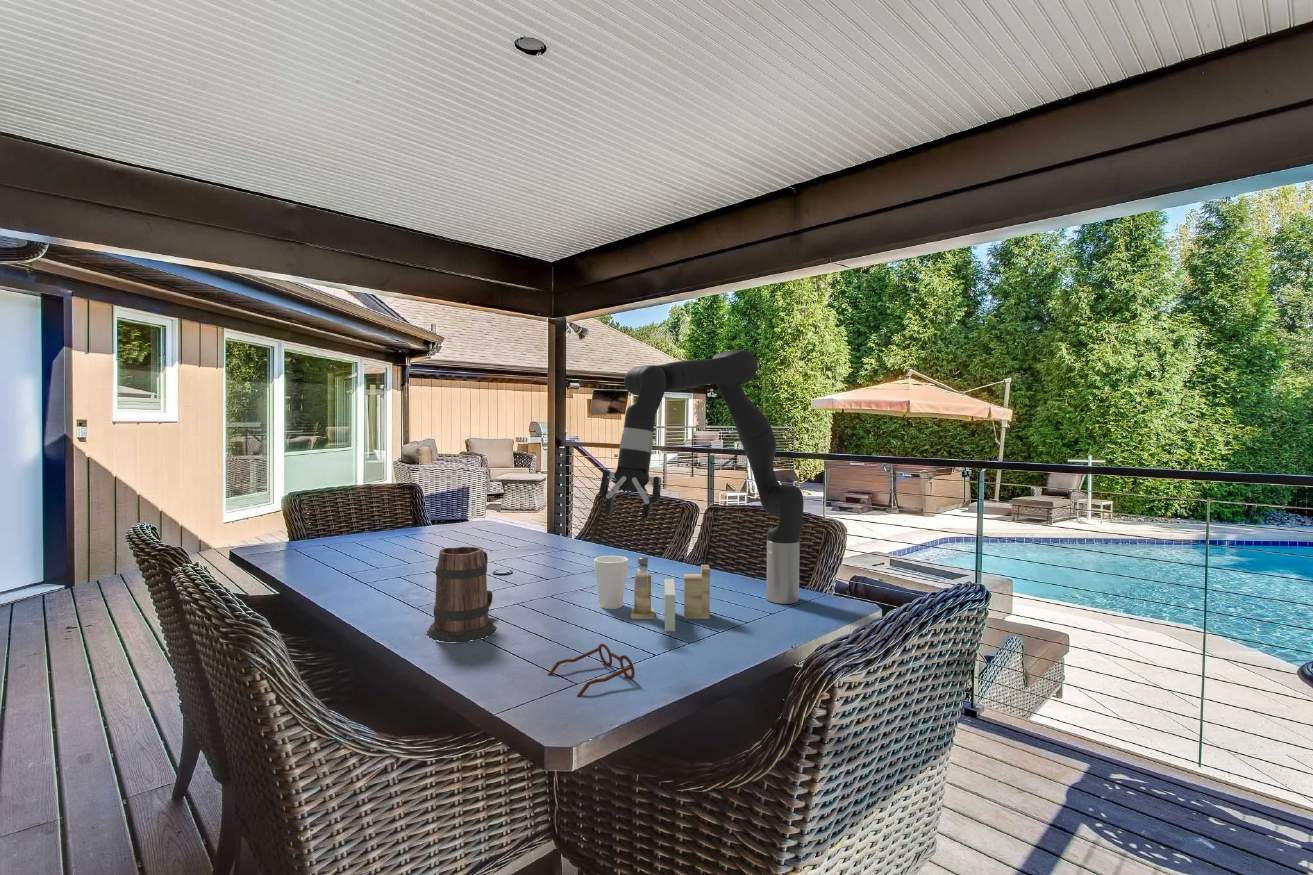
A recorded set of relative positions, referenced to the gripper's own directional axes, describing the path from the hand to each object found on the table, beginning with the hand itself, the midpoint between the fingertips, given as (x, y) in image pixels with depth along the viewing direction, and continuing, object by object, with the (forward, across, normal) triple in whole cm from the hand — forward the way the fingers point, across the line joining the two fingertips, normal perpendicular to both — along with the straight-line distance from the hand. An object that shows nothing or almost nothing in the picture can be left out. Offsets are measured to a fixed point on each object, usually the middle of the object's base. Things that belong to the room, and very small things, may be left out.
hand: (626, 517), depth 152 cm
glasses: (+32, -3, +20) cm, 38 cm away
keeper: (+24, -14, -27) cm, 39 cm away
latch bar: (+16, -2, -16) cm, 23 cm away
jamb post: (+26, -1, -23) cm, 35 cm away
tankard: (+33, +37, -2) cm, 50 cm away
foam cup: (+26, +10, -30) cm, 41 cm away
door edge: (+26, -9, -20) cm, 34 cm away
